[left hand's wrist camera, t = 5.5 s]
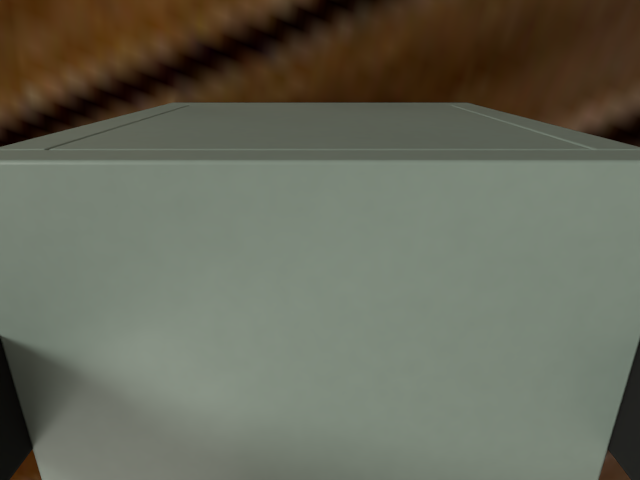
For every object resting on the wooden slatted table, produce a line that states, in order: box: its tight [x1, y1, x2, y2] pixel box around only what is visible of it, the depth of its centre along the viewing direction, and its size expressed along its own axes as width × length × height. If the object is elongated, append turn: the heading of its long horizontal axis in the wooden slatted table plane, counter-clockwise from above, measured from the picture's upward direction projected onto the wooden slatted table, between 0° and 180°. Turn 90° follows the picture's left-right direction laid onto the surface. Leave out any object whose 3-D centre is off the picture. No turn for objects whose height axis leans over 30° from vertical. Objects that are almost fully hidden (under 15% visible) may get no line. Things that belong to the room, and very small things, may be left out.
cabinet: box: [0, 103, 640, 480], centre depth 16 cm, size 22×12×12 cm, turn 0°
